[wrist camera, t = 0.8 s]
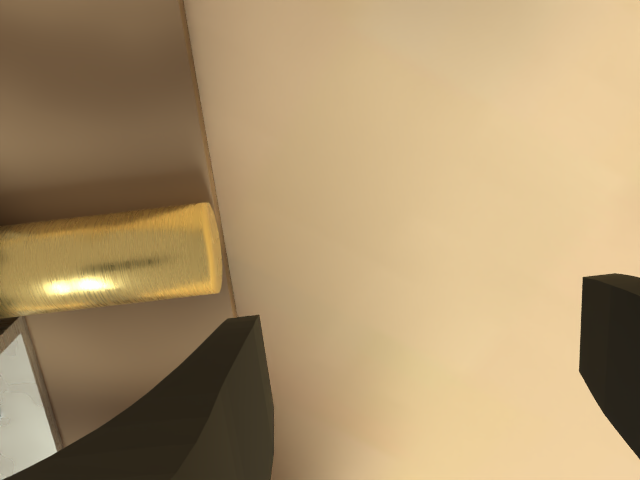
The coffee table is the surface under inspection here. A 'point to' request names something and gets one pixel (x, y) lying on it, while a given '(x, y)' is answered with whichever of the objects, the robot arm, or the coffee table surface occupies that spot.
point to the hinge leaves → (23, 402)
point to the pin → (109, 260)
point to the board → (105, 181)
